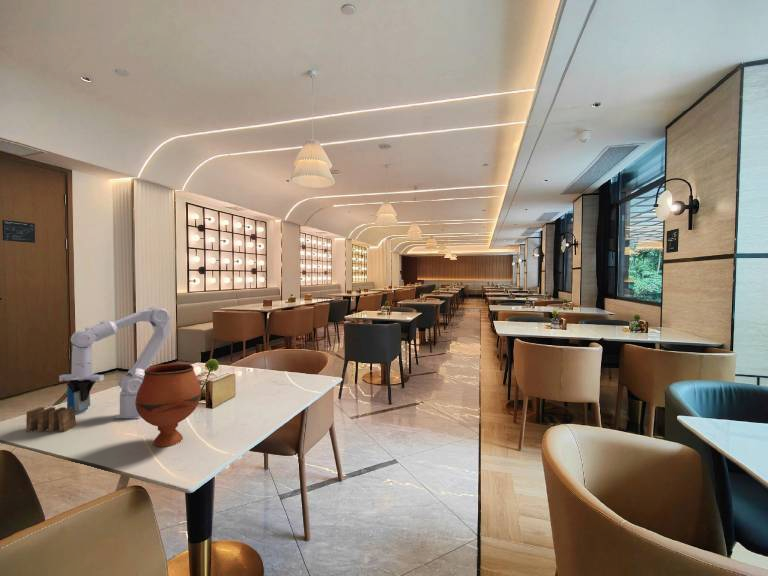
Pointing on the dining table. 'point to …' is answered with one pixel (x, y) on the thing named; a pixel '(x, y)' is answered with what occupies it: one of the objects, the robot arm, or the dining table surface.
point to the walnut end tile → (32, 419)
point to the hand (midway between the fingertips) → (81, 400)
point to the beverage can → (72, 401)
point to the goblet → (168, 399)
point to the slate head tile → (78, 403)
